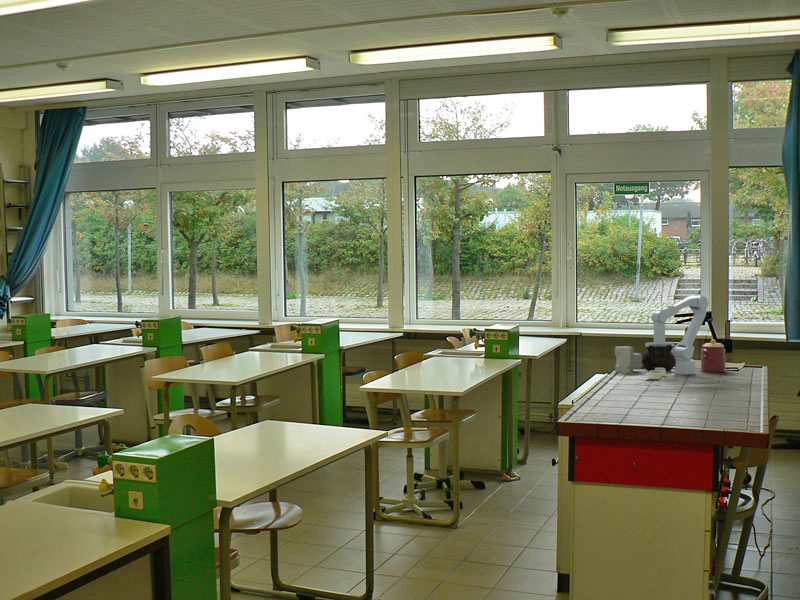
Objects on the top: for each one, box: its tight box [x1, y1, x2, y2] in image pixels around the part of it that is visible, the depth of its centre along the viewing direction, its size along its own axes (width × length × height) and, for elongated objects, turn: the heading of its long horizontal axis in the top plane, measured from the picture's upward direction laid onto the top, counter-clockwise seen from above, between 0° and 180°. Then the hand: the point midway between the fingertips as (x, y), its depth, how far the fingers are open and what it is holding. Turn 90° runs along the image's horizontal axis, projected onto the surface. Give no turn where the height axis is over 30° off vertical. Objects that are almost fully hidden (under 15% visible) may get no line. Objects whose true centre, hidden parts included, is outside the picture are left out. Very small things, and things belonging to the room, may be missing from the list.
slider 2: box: [655, 368, 667, 377], centre depth 423 cm, size 4×4×4 cm
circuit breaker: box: [614, 345, 644, 374], centre depth 441 cm, size 8×14×15 cm, turn 89°
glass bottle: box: [642, 346, 676, 372], centre depth 449 cm, size 18×18×28 cm
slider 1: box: [649, 370, 661, 380], centre depth 414 cm, size 4×4×4 cm
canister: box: [700, 338, 727, 373], centre depth 449 cm, size 13×13×18 cm
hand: (659, 360), depth 425 cm, fingers open, 7 cm apart
